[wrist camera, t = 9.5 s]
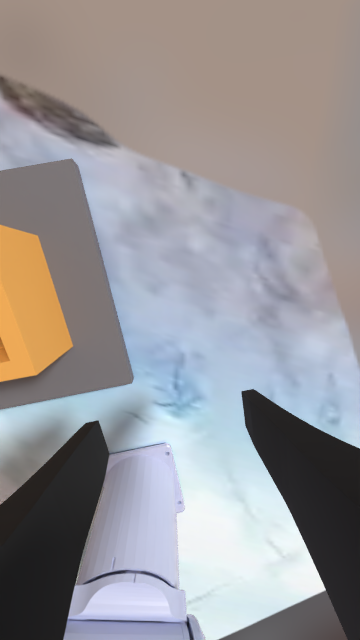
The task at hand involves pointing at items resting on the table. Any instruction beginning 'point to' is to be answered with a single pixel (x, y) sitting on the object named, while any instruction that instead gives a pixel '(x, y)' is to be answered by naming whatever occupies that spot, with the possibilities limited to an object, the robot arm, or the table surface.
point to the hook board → (66, 282)
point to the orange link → (27, 308)
